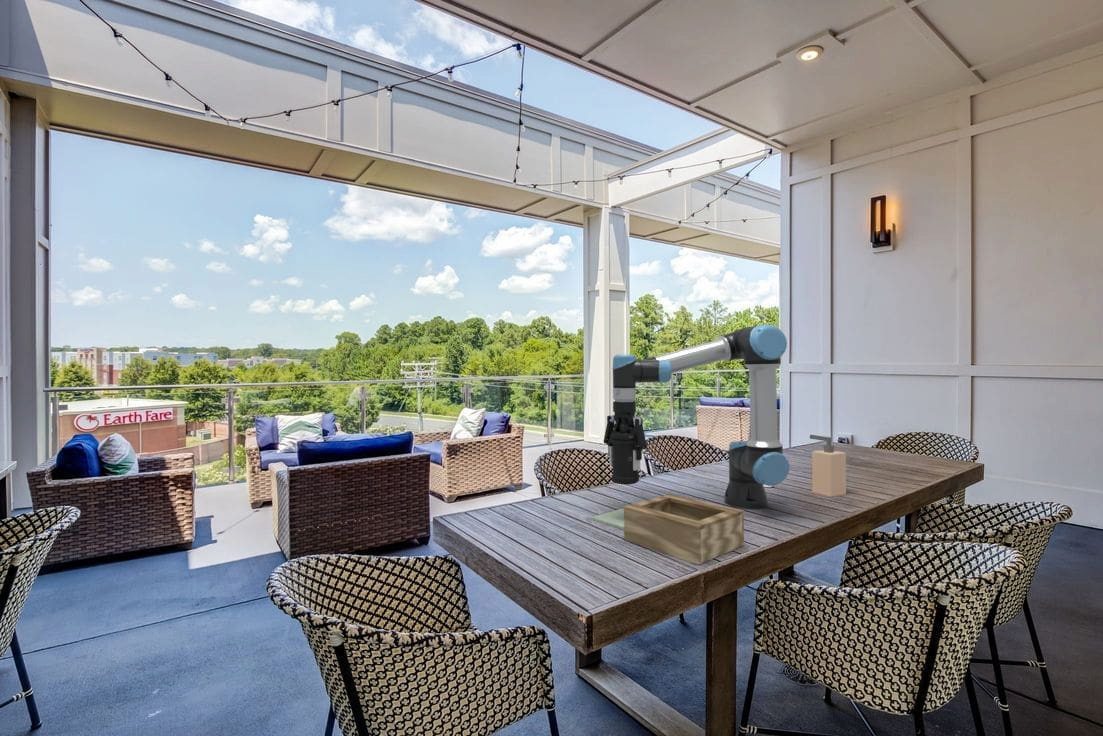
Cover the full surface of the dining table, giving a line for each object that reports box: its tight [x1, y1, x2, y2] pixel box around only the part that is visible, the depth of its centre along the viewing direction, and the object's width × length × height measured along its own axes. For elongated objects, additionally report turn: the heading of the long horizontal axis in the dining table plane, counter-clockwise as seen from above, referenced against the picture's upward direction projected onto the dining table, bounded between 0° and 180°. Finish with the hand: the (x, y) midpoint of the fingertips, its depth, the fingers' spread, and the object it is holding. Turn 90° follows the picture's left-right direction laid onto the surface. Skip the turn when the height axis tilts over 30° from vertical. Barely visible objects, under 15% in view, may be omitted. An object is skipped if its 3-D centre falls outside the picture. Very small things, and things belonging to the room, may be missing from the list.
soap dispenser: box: [809, 434, 847, 498], centre depth 213 cm, size 13×9×22 cm
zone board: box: [591, 507, 624, 531], centre depth 179 cm, size 16×16×1 cm
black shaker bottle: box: [611, 422, 640, 485], centre depth 179 cm, size 9×11×20 cm
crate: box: [623, 493, 745, 565], centre depth 156 cm, size 22×26×10 cm
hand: (624, 467), depth 179 cm, fingers closed on black shaker bottle, 10 cm apart
